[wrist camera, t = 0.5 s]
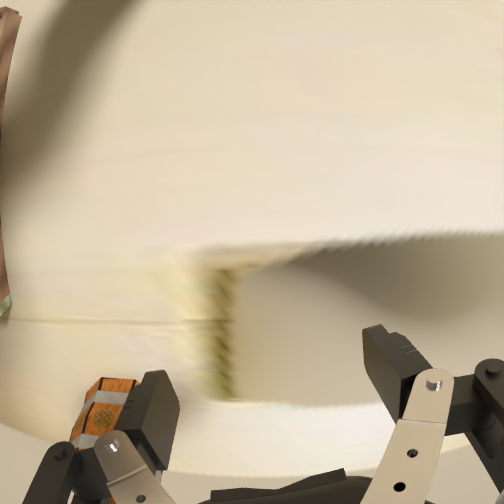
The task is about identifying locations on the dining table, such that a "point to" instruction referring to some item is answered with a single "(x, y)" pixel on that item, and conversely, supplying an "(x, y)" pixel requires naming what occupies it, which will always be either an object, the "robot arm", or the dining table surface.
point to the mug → (102, 413)
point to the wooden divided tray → (3, 40)
